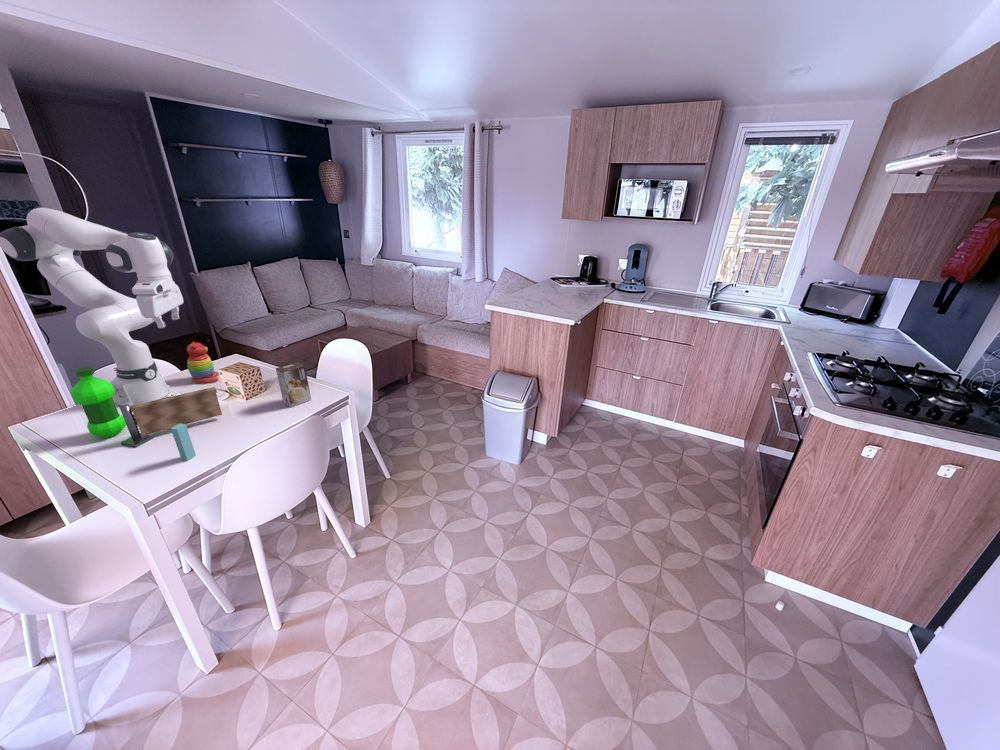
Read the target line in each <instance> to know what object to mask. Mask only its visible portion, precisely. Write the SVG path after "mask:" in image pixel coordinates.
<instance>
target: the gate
mask: <svg viewBox="0 0 1000 750" xmlns="http://www.w3.org/2000/svg"><path fill="white" fill-rule="evenodd" d="M217 393H218V392H217V388H216V387H215V386H213V387H208V388H202V389H198V390H194V391H190V392H185V393H181V394H178V395H176V394H175V395H171V396H168V397H163V398H161V399H158V400H154V401H150V402H145V403H141V404H136V405H131V406H130V409H131V412H132V414H133V417H134V419H135V422H136V424H137V427H138V429H139V432H140V433H141V434H142V436H144V435H152V434H155V433H159V432H163V431H166V430H169V429H170V430H171V428H172V427H174V426H176V425H178V424H179V423H180V424H186V425H189V424H192V423H196V422H201V421H204V420H208V419H210V418H214V417H219V416H223V413H222V410H221V409H222V408H221V405H220V402H219V399H218V396H217Z"/></svg>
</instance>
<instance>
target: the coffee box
mask: <svg viewBox="0 0 1000 750" xmlns="http://www.w3.org/2000/svg"><path fill="white" fill-rule="evenodd" d="M275 371H276V375H277V381H278V384H279V389H280V392H281V394H280V395H281V398H282V403H283V404H285V406H288V407H289V408H294V407H297V406H299V405H302V404H304V403H306V402H309V400H310V401H312V396H311V391H310V386H309V381H308V375H307V371H306V366H305V365H304V364H302V363H300V362H298V361H297V362H293V363H292V362H291V363H290V364H286V365H282V366H279V367H276V368H275ZM301 403H302V404H301ZM293 406H294V407H293Z"/></svg>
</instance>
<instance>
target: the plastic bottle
mask: <svg viewBox="0 0 1000 750" xmlns="http://www.w3.org/2000/svg"><path fill="white" fill-rule="evenodd" d="M74 373H75V375H76V377H77V378H79V379H80V380H79V381H77V382H76V384H75V385H74V386H73V387H72V388H71V389H70V395H71V397H72V399H73V401H74V402H75V403H76V404H77V405H80V406H81V407H82V410H83V412H84V414H85V416H86V418H87V421H88V422H87V426H86V427H87V429H88V431H89V433H90V434H91V435H92V436H94V437H99V438H102V439H108V438H113V437H116V436H119V434H121V432H122V431H123V430H124V429H125V428H126V427H127V425H126V422H125V420H124V418H123V415H121V414H120V413H119V411H118V408H117V404H115V403H114V400H113V398H112V397H113V396H114V394H115V390H114V387H113V386H112V384H111V383H110V382H111V381H109V380H106V379H102V378H100V377H95V376H94V374H95V371H94V369H93V367H92V366H84V367H79V368H77V369H75V370H74Z"/></svg>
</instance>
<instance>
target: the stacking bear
mask: <svg viewBox="0 0 1000 750" xmlns="http://www.w3.org/2000/svg"><path fill="white" fill-rule="evenodd" d="M208 349H209V348H208V347H207V346H205V345H203V344H202V343H201V342H195V341H192V342H191V343H190V344H189V345H187V346H186V352H187V354H188V355H189V356H188V357H187V360H186V361H187V365H186V366H187V371H188V373H189V374H190V375H191V377H192V378H191V381H192V383H193V384H198V385H200V384H201V385H206V384H212V383H213V384H214V383H216V382H219V375H220V373H219V372H218V371H214V370H215V367H214V362H213V361H212V359H211V357H210V356H209V355H208Z"/></svg>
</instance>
